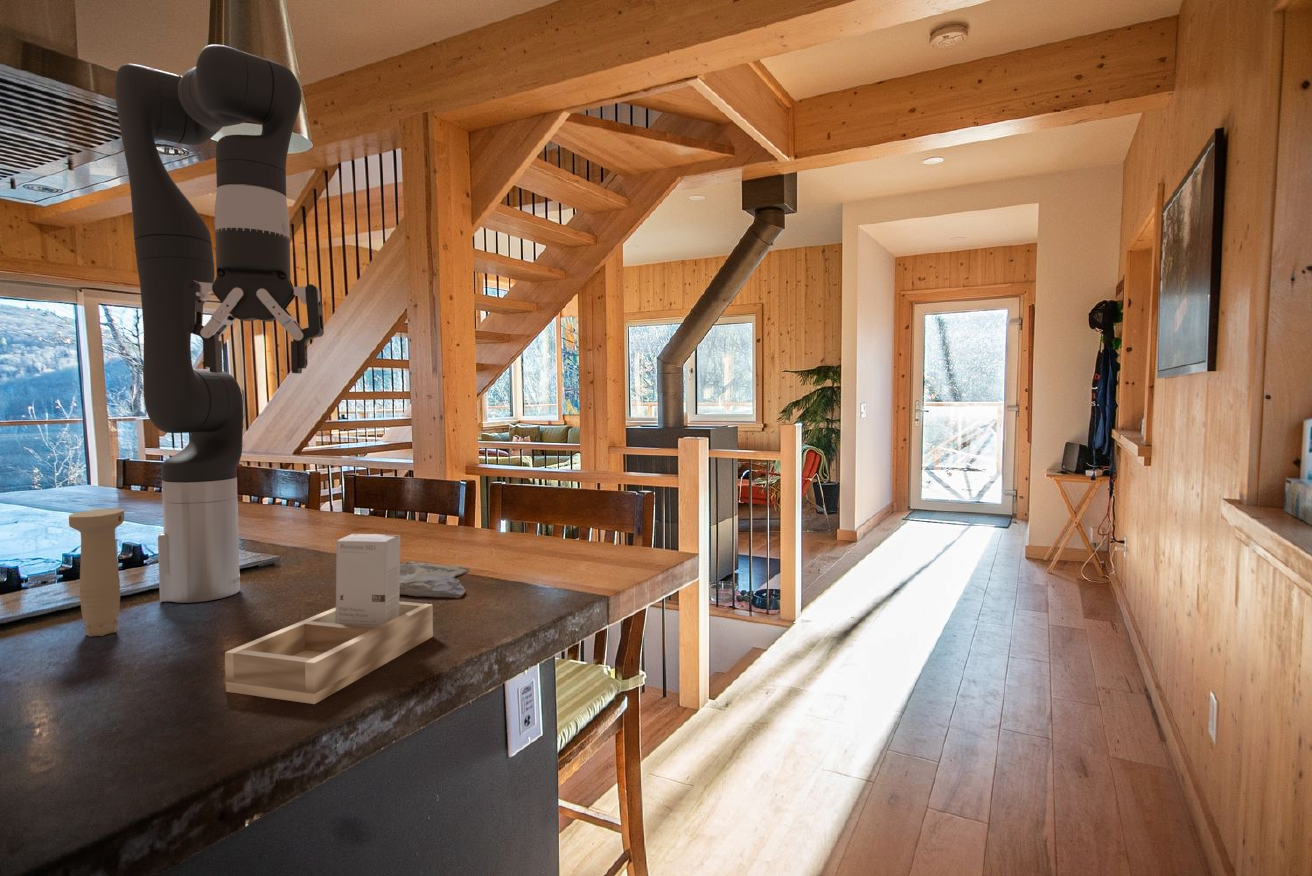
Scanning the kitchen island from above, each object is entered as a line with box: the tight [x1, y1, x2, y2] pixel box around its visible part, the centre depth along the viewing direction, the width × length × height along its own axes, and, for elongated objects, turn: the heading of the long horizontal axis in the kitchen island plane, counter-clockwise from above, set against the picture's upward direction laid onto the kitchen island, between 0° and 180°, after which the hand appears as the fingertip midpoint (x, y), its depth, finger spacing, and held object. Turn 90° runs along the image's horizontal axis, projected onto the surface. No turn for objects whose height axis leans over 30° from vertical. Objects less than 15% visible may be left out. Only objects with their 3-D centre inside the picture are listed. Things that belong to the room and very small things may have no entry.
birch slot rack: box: [224, 600, 434, 705], centre depth 78 cm, size 20×10×4 cm, turn 165°
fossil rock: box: [400, 560, 471, 599], centre depth 112 cm, size 18×15×2 cm
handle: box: [68, 508, 125, 637], centre depth 86 cm, size 5×6×15 cm
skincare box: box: [335, 533, 402, 628], centre depth 82 cm, size 6×4×12 cm
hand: (256, 372), depth 83 cm, fingers open, 8 cm apart
